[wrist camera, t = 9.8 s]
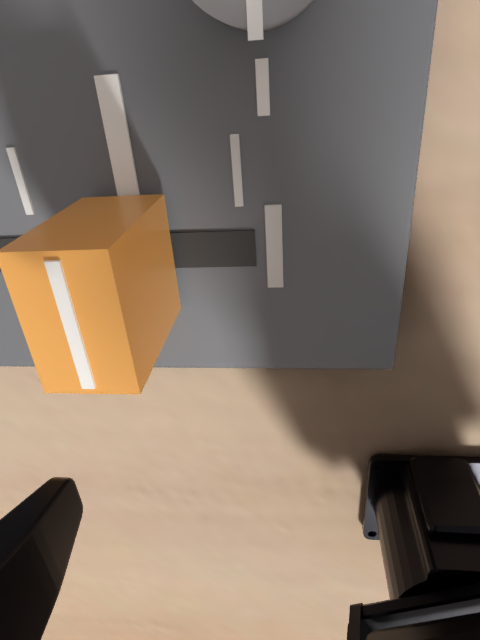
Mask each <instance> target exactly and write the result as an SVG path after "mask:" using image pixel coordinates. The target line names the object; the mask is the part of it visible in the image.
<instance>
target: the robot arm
mask: <svg viewBox="0 0 480 640" xmlns="http://www.w3.org/2000/svg"><path fill="white" fill-rule="evenodd" d="M380 463H381V464H380ZM378 464H379V465H378ZM82 513H83V505H82V501H81V498H80V496H79V493H78V490H77V487H76V484H75V482H74V480H73V479H71V478H63V477H54V478H51V479H50V480H48V481H47V482H46V483H44V484H43V485H42V486H41V487H40V488H38V489H37V490H36V491H35V492H33V493H32V494H31V495H30V496H29V497H27V498H26V499H25V500H24V501H22V502H21V503H20V504H19V505H18V506H16V507H15V508H14V509H13V510H11V511H10V512H9V513H8V514H7V515H5V516H4V517H3V518H2V519H0V640H41V638H42V635H43V633H44V630H45V628H46V625H47V623H48V620H49V618H50V615H51V613H52V610H53V608H54V605H55V602H56V600H57V597H58V594H59V592H60V589H61V585H62V582H63V579H64V576H65V572H66V569H67V566H68V562H69V559H70V555H71V552H72V548H73V545H74V542H75V538H76V535H77V531H78V528H79V525H80V521H81V518H82ZM362 528H363V534H364V537H365V538H367V539H371V540H380V545H381V551H382V556H383V562H384V568H385V573H386V579H387V585H388V591H389V596H390V600H386V601H381V602H376V603H370V604H365V605H363V604H362V603H359V604H353V605H350V615H349V624H348V632H347V640H480V457H451V456H419V455H387V454H377V455H374V456H372V457H371V458H370V460H369V467H368V477H367V487H366V497H365V507H364V517H363V527H362Z"/></svg>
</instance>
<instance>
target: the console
mask: <svg viewBox="0 0 480 640" xmlns="http://www.w3.org/2000/svg"><path fill="white" fill-rule="evenodd" d="M437 4H438V0H0V249H1V248H3V247H4V246H6V245H7V244H9V243H11V242H12V241H14V240H15V239H17V238H19V237H20V236H22V235H23V234H25V233H27V232H28V231H30V230H31V229H33V228H35V227H36V226H38V225H39V224H41V223H43V222H44V221H46V220H47V219H49V218H51V217H52V216H54V215H55V214H57V213H59V212H60V211H62V210H63V209H65V208H67V207H68V206H70V205H71V204H73V203H75V202H76V201H78V200H79V199H81V198H84V197H107V196H130V195H153V194H164V197H165V204H166V210H167V217H168V224H169V231H170V237H171V244H172V251H173V257H174V264H175V271H176V277H177V284H178V291H179V297H180V304H181V309H180V312H179V314H178V316H177V318H176V320H175V322H174V324H173V326H172V328H171V331H170V333H169V335H168V337H167V339H166V341H165V343H164V345H163V347H162V350H161V352H160V354H159V356H158V358H157V360H156V362H155V364H154V366H153V367H168V368H297V369H394V362H395V354H396V346H397V337H398V329H399V321H400V312H401V304H402V296H403V287H404V279H405V271H406V262H407V254H408V246H409V237H410V229H411V221H412V212H413V204H414V196H415V187H416V179H417V171H418V162H419V154H420V146H421V137H422V129H423V121H424V112H425V104H426V96H427V87H428V79H429V71H430V62H431V54H432V46H433V37H434V29H435V21H436V12H437ZM0 366H35V364H34V361H33V358H32V356H31V353H30V350H29V347H28V344H27V342H26V339H25V336H24V333H23V330H22V327H21V325H20V322H19V319H18V316H17V313H16V310H15V308H14V305H13V302H12V299H11V296H10V294H9V291H8V288H7V285H6V282H5V279H4V277H3V274H2V271H1V268H0Z"/></svg>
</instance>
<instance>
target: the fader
mask: <svg viewBox="0 0 480 640" xmlns="http://www.w3.org/2000/svg"><path fill="white" fill-rule="evenodd" d="M0 268H1V271H2V274H3V277H4V279H5V282H6V285H7V288H8V291H9V294H10V296H11V299H12V302H13V305H14V308H15V310H16V313H17V316H18V319H19V322H20V325H21V327H22V330H23V333H24V336H25V339H26V342H27V344H28V347H29V350H30V353H31V356H32V358H33V361H34V364H35V367H36V370H37V373H38V375H39V378H40V381H41V384H42V387H43V390H44V392H45V393H85V394H141V392H142V390H143V388H144V385H145V383H146V381H147V379H148V377H149V375H150V373H151V371H152V369H153V366H154V364H155V362H156V360H157V358H158V356H159V354H160V352H161V350H162V347H163V345H164V343H165V341H166V339H167V337H168V335H169V333H170V331H171V328H172V326H173V324H174V322H175V320H176V318H177V316H178V314H179V312H180V309H181V304H180V297H179V291H178V284H177V277H176V271H175V264H174V257H173V251H172V244H171V237H170V231H169V224H168V217H167V210H166V204H165V197H164V194H153V195H130V196H107V197H84V198H81V199H79V200H78V201H76V202H75V203H73V204H71V205H70V206H68V207H67V208H65V209H63V210H62V211H60V212H59V213H57V214H55V215H54V216H52V217H51V218H49V219H47V220H46V221H44V222H43V223H41V224H39V225H38V226H36V227H35V228H33V229H31V230H30V231H28V232H27V233H25V234H23V235H22V236H20V237H19V238H17V239H15V240H14V241H12V242H11V243H9V244H7V245H6V246H4V247H3V248H1V249H0Z"/></svg>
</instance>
